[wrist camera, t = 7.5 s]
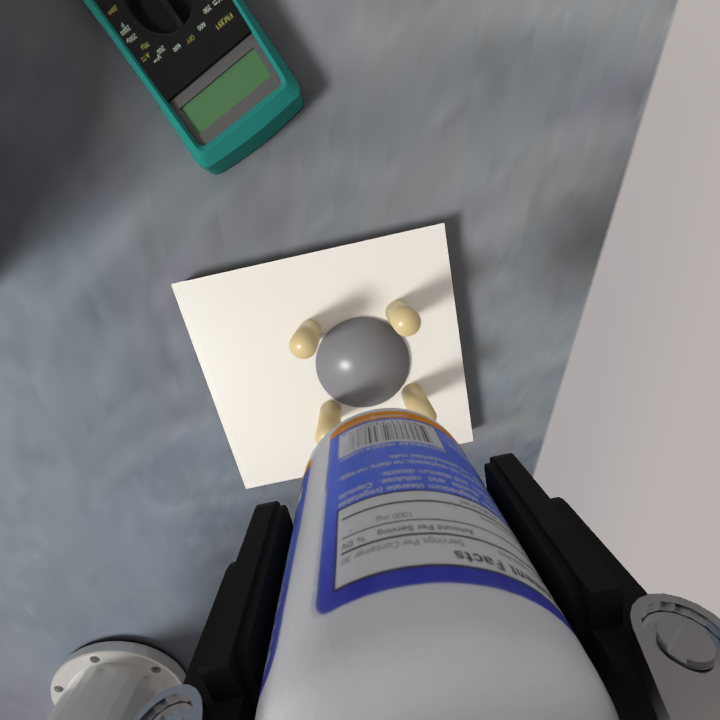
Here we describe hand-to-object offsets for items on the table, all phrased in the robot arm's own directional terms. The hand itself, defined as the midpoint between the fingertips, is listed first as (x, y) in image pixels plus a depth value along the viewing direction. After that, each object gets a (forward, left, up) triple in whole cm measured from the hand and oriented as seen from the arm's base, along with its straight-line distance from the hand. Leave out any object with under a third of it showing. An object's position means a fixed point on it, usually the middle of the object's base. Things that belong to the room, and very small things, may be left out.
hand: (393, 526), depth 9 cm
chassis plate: (0, +2, -17) cm, 17 cm away
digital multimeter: (+21, +6, -18) cm, 29 cm away
